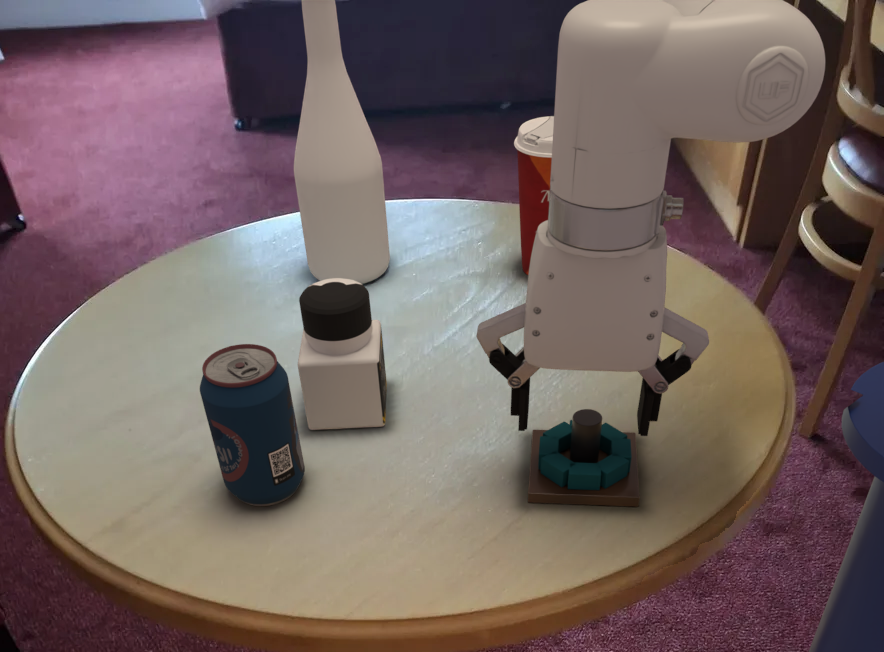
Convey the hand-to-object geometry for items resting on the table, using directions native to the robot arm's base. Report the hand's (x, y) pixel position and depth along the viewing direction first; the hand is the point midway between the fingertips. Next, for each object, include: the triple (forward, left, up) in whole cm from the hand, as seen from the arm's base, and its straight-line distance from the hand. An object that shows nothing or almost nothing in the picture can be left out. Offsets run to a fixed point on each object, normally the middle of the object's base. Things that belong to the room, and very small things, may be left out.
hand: (582, 423), depth 74 cm
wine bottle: (+27, -37, -5) cm, 46 cm away
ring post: (0, 0, -5) cm, 5 cm away
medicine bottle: (+22, -9, -5) cm, 24 cm away
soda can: (+27, +3, -5) cm, 27 cm away
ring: (0, 0, -3) cm, 3 cm away
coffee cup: (+4, -38, -5) cm, 38 cm away
